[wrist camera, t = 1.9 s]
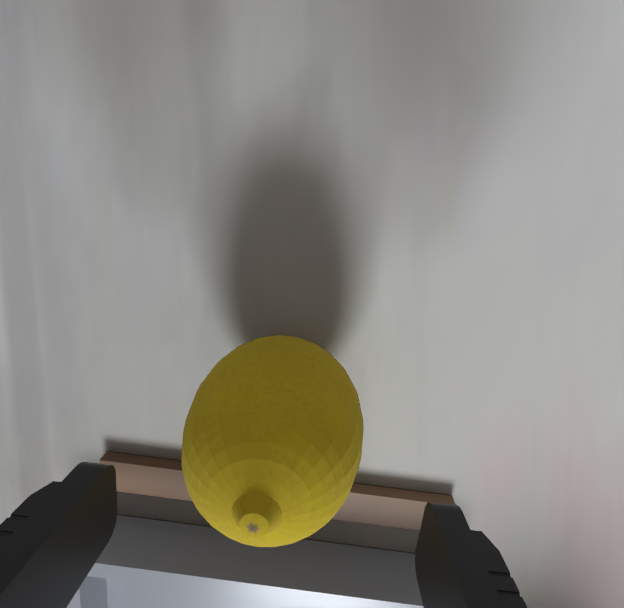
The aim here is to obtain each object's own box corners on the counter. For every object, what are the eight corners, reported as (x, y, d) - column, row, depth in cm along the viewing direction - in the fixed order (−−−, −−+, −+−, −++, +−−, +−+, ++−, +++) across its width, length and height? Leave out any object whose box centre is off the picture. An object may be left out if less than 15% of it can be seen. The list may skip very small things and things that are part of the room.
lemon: (202, 337, 16) (85, 469, 8) (324, 287, 15) (318, 383, 8) (259, 444, 17) (203, 642, 10) (374, 403, 17) (412, 584, 9)
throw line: (107, 451, 18) (99, 460, 17) (451, 495, 18) (455, 505, 17) (108, 480, 18) (100, 489, 18) (444, 523, 18) (448, 534, 18)
